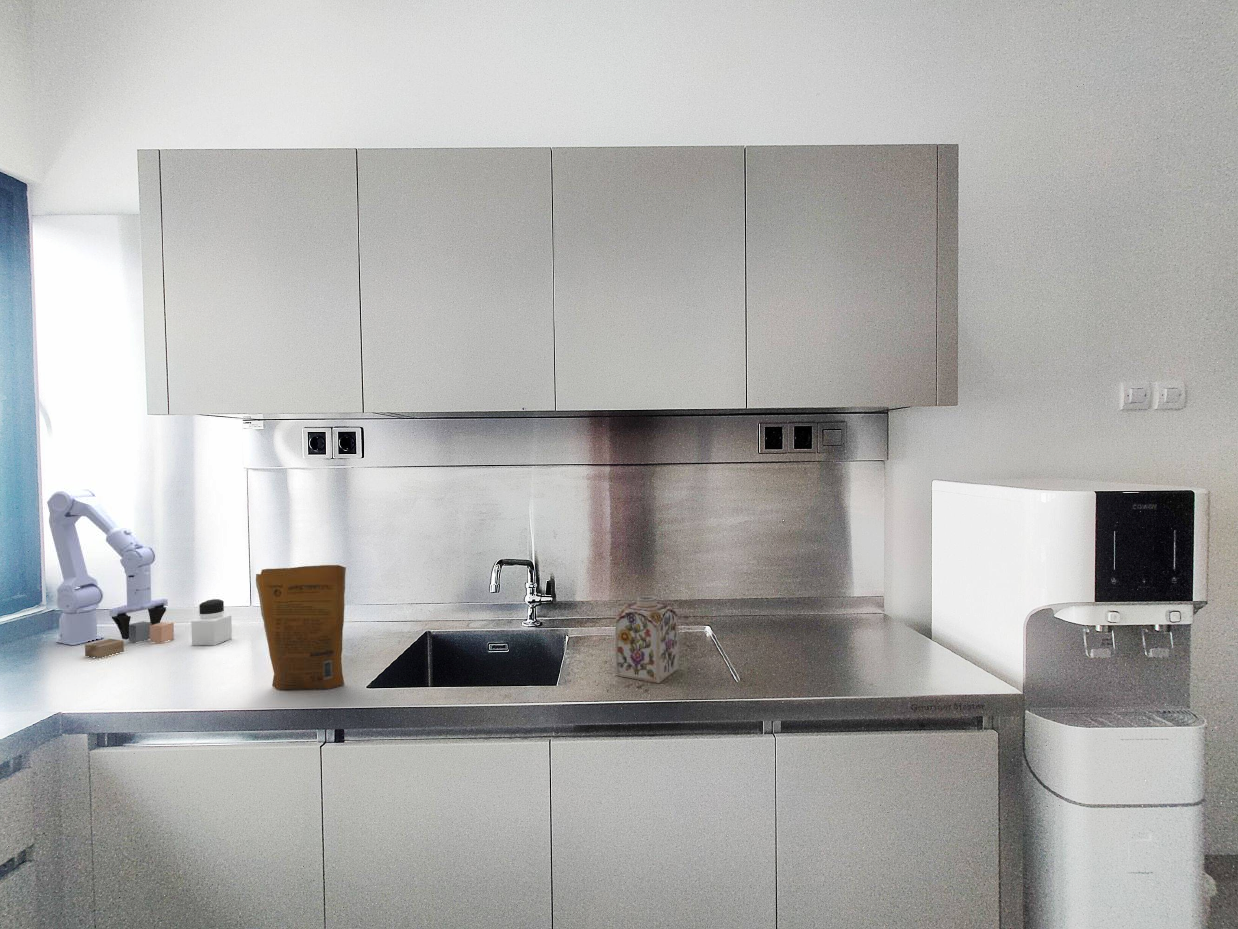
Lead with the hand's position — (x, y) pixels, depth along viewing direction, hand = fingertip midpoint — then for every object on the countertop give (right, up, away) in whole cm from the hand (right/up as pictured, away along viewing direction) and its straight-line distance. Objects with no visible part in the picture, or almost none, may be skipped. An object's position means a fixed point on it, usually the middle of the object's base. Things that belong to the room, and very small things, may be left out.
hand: (140, 635), depth 188 cm
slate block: (0, -2, 0) cm, 2 cm away
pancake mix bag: (+69, -1, -42) cm, 80 cm away
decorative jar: (+147, 0, -35) cm, 151 cm away
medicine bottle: (+23, -1, -3) cm, 23 cm away
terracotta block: (+7, -1, -1) cm, 7 cm away
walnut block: (0, -2, -13) cm, 14 cm away
